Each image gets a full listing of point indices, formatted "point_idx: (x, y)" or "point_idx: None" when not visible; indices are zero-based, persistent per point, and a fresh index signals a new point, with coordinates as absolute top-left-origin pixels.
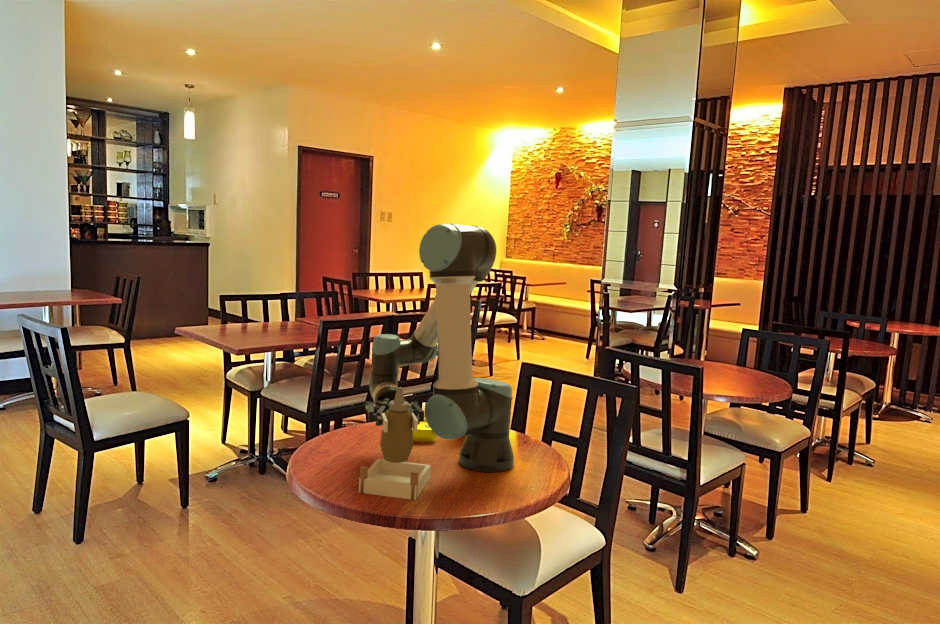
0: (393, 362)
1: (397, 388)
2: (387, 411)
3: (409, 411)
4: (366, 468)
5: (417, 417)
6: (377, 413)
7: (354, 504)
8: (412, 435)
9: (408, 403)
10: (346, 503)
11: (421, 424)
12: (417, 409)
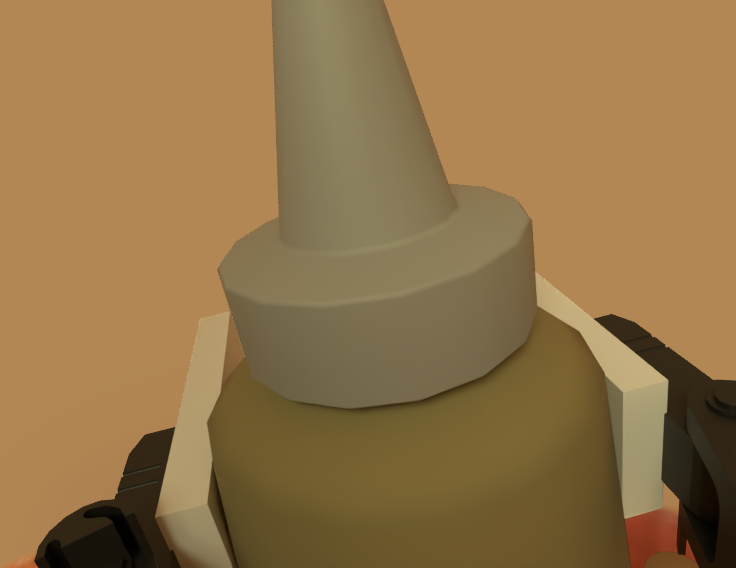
0: None
1: None
2: (544, 310)
3: (237, 380)
4: (647, 561)
5: (146, 474)
6: (733, 385)
7: None
8: None
9: (227, 256)
10: (666, 527)
11: None
12: (47, 541)
